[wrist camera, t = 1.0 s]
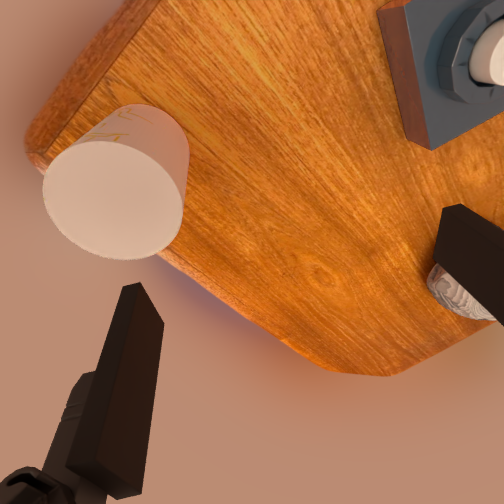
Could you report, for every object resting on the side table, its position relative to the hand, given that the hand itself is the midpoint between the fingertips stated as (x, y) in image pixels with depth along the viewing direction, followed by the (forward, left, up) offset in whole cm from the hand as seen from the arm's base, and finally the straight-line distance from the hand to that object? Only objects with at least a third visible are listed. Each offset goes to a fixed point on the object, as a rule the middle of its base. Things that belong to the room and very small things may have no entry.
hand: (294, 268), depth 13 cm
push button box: (+3, +20, -20) cm, 28 cm away
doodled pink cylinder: (-4, -8, -20) cm, 22 cm away
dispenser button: (+3, +20, -14) cm, 24 cm away
